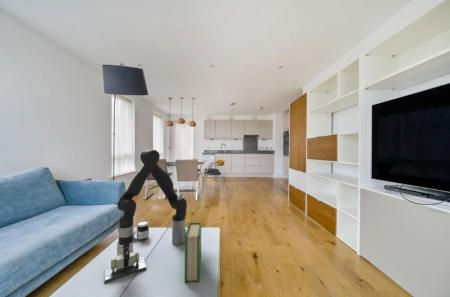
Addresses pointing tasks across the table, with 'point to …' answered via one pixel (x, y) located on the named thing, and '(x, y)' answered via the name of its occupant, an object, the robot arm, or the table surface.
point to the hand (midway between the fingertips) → (125, 264)
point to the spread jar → (142, 231)
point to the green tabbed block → (120, 262)
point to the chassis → (124, 270)
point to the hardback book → (193, 252)
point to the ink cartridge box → (119, 249)
